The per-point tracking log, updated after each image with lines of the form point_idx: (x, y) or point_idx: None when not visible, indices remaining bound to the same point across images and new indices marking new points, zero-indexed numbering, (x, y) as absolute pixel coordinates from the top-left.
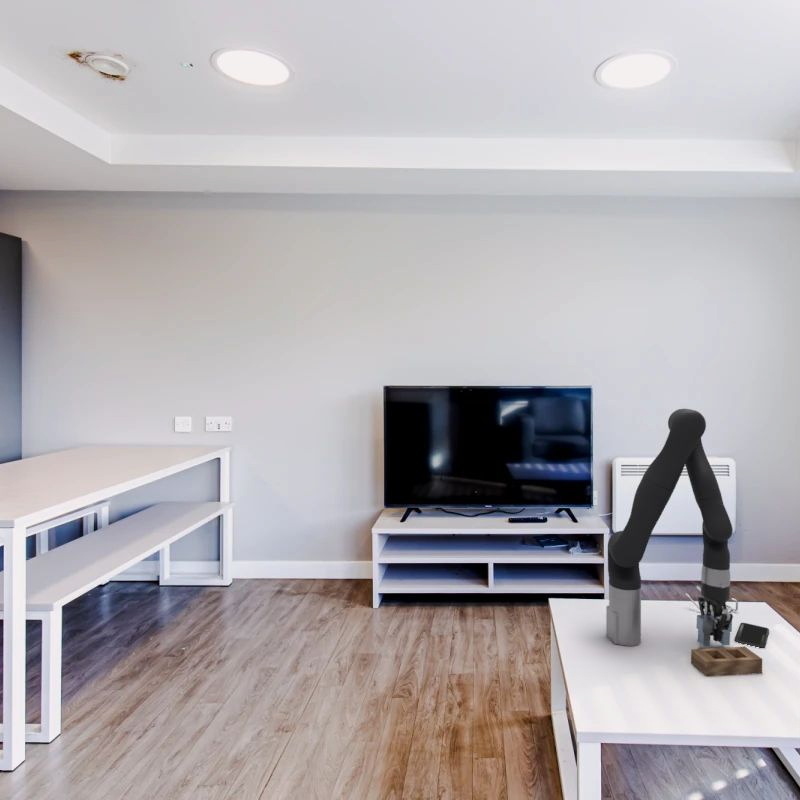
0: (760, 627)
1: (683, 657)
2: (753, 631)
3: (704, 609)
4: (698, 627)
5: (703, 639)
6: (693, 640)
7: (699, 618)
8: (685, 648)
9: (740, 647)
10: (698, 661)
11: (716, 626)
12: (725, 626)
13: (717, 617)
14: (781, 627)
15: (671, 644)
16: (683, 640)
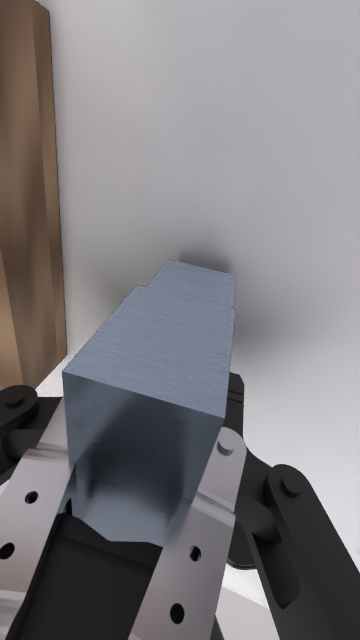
0: (254, 564)
1: (135, 12)
2: (240, 535)
3: (219, 589)
4: (197, 311)
5: (160, 275)
6: (310, 300)
7: (153, 379)
8: (247, 156)
9: (15, 374)
10: None
11: (59, 409)
12: (3, 447)
13: (110, 521)
14: (238, 587)
15: (353, 78)
16: (346, 239)
